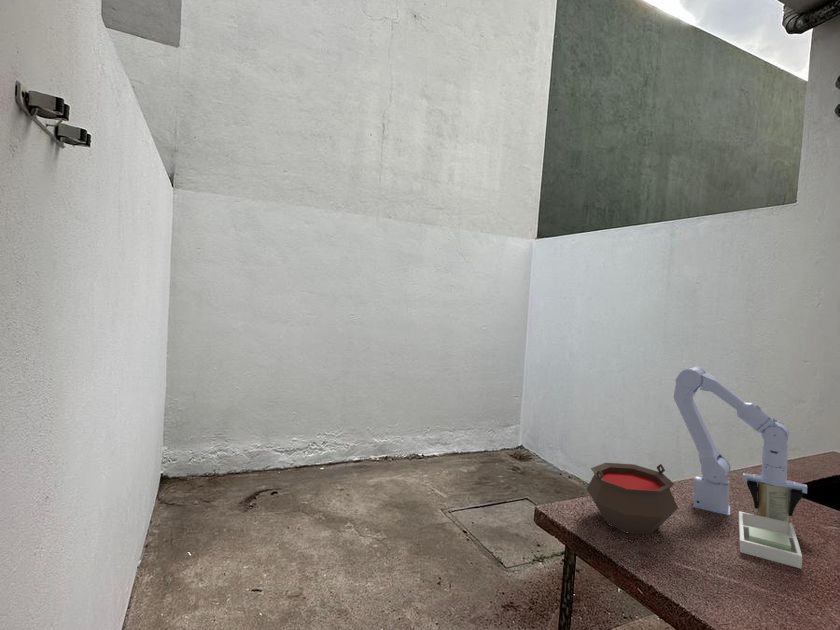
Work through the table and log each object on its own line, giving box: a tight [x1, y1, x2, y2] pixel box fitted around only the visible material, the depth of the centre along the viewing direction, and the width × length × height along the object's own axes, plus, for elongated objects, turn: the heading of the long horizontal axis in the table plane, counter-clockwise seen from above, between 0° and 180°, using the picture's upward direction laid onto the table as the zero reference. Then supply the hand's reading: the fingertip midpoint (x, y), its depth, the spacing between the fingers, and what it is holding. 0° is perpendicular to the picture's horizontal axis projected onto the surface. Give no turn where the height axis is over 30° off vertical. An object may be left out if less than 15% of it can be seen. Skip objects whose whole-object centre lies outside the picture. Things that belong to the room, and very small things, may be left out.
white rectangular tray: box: [738, 510, 803, 570], centre depth 118 cm, size 12×20×4 cm, turn 145°
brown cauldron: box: [586, 462, 679, 536], centre depth 129 cm, size 24×24×16 cm
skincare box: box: [756, 482, 790, 523], centre depth 129 cm, size 6×4×12 cm
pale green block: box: [749, 526, 791, 552], centre depth 114 cm, size 8×6×4 cm
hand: (772, 511), depth 129 cm, fingers closed on skincare box, 7 cm apart
